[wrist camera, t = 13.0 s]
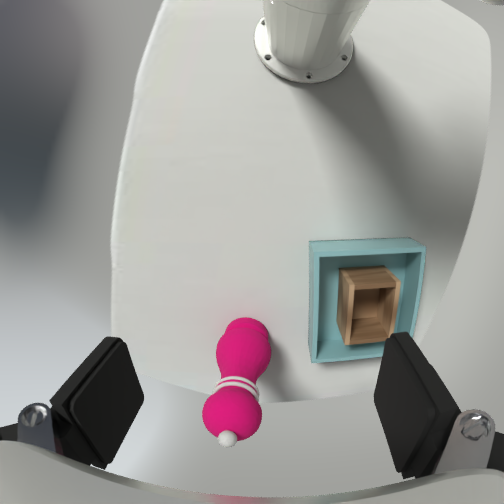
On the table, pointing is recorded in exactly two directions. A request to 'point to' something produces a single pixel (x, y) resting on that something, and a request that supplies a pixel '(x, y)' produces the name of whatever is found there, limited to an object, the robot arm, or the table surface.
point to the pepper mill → (238, 382)
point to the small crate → (367, 304)
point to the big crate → (326, 290)
